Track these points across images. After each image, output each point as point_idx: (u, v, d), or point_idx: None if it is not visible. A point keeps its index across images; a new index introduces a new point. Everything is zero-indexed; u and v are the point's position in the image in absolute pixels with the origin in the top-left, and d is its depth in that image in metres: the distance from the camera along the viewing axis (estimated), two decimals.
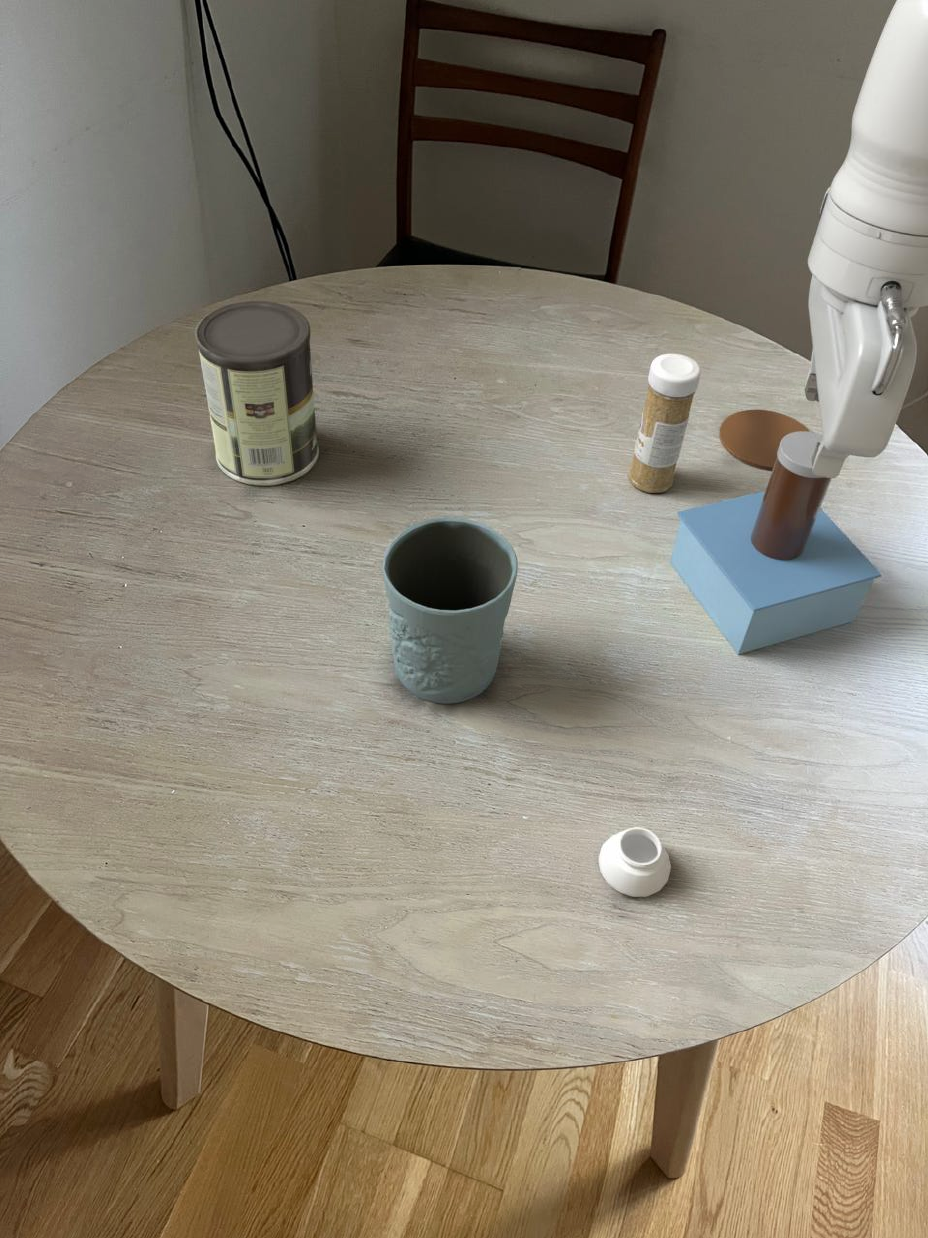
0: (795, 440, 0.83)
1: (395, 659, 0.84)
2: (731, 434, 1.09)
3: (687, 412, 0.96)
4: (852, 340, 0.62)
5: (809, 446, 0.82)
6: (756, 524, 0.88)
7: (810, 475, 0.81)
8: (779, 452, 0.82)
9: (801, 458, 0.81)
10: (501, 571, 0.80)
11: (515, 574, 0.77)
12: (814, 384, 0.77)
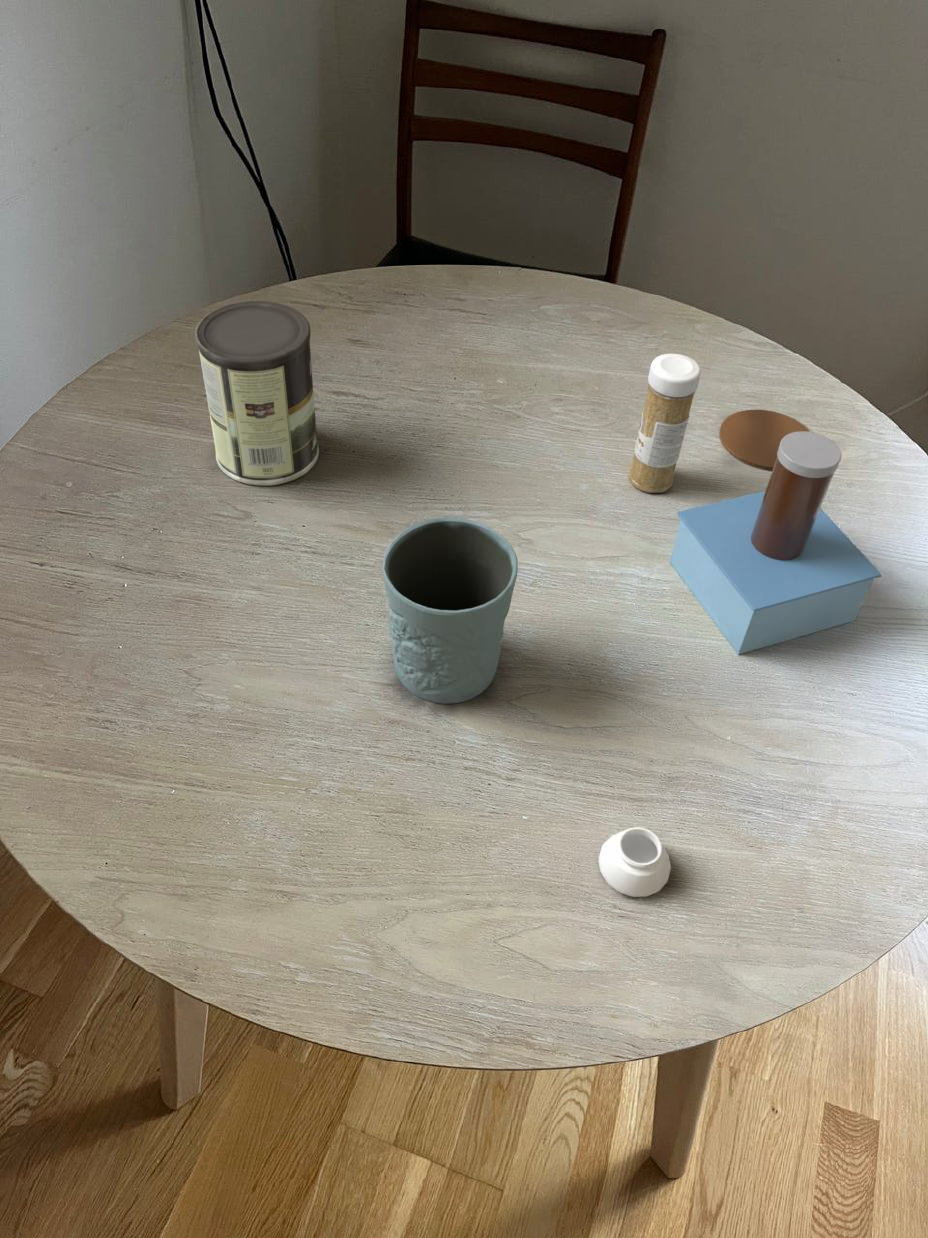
0: (795, 440, 0.83)
1: (395, 659, 0.84)
2: (731, 434, 1.09)
3: (687, 412, 0.96)
4: None
5: (809, 446, 0.82)
6: (756, 524, 0.88)
7: (810, 475, 0.81)
8: (779, 452, 0.82)
9: (801, 458, 0.81)
10: (501, 571, 0.80)
11: (515, 574, 0.77)
12: None
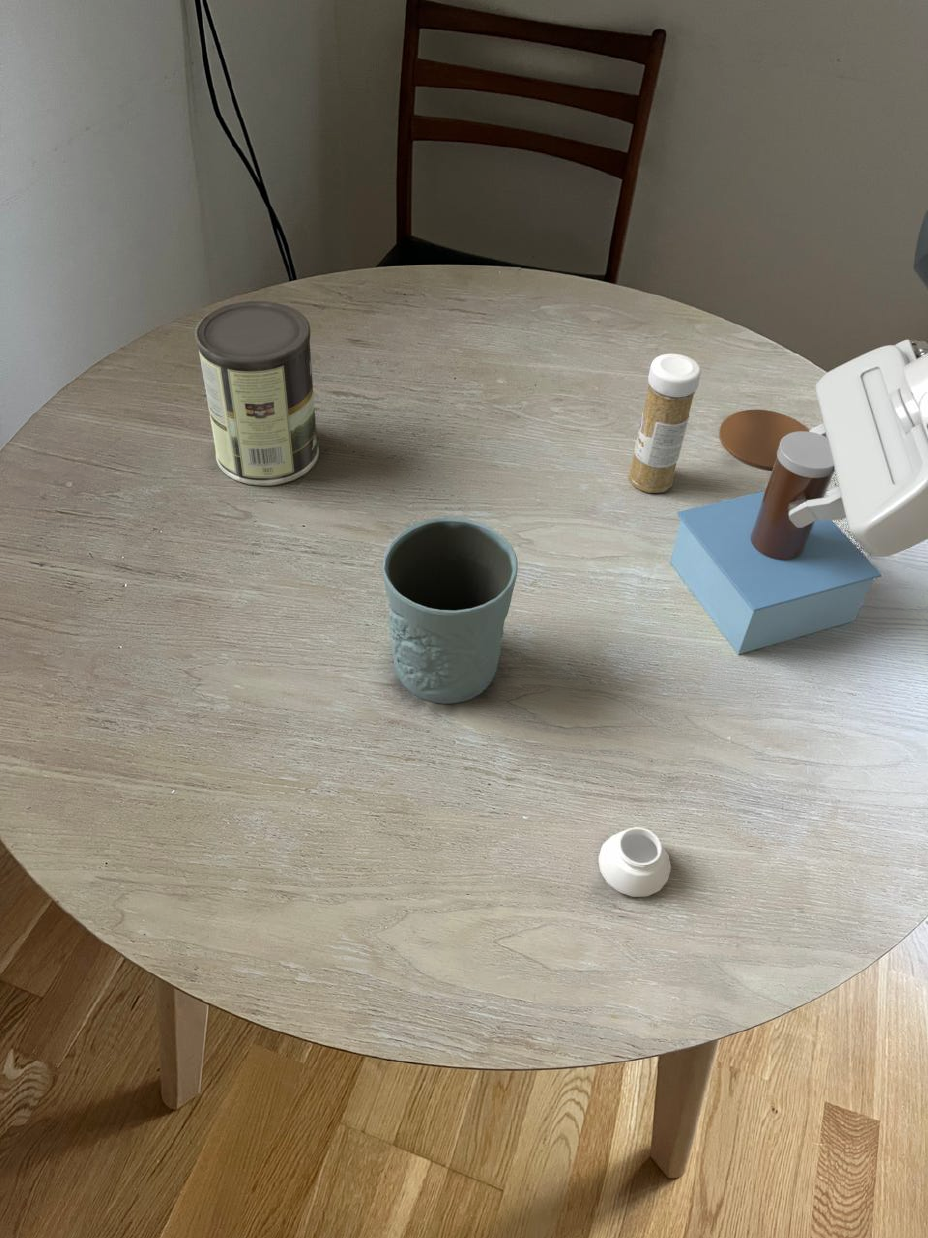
0: (795, 440, 0.83)
1: (395, 659, 0.84)
2: (731, 434, 1.09)
3: (687, 412, 0.96)
4: None
5: (809, 446, 0.82)
6: (756, 524, 0.88)
7: (809, 475, 0.81)
8: (779, 452, 0.82)
9: (801, 458, 0.81)
10: (501, 571, 0.80)
11: (515, 574, 0.77)
12: None
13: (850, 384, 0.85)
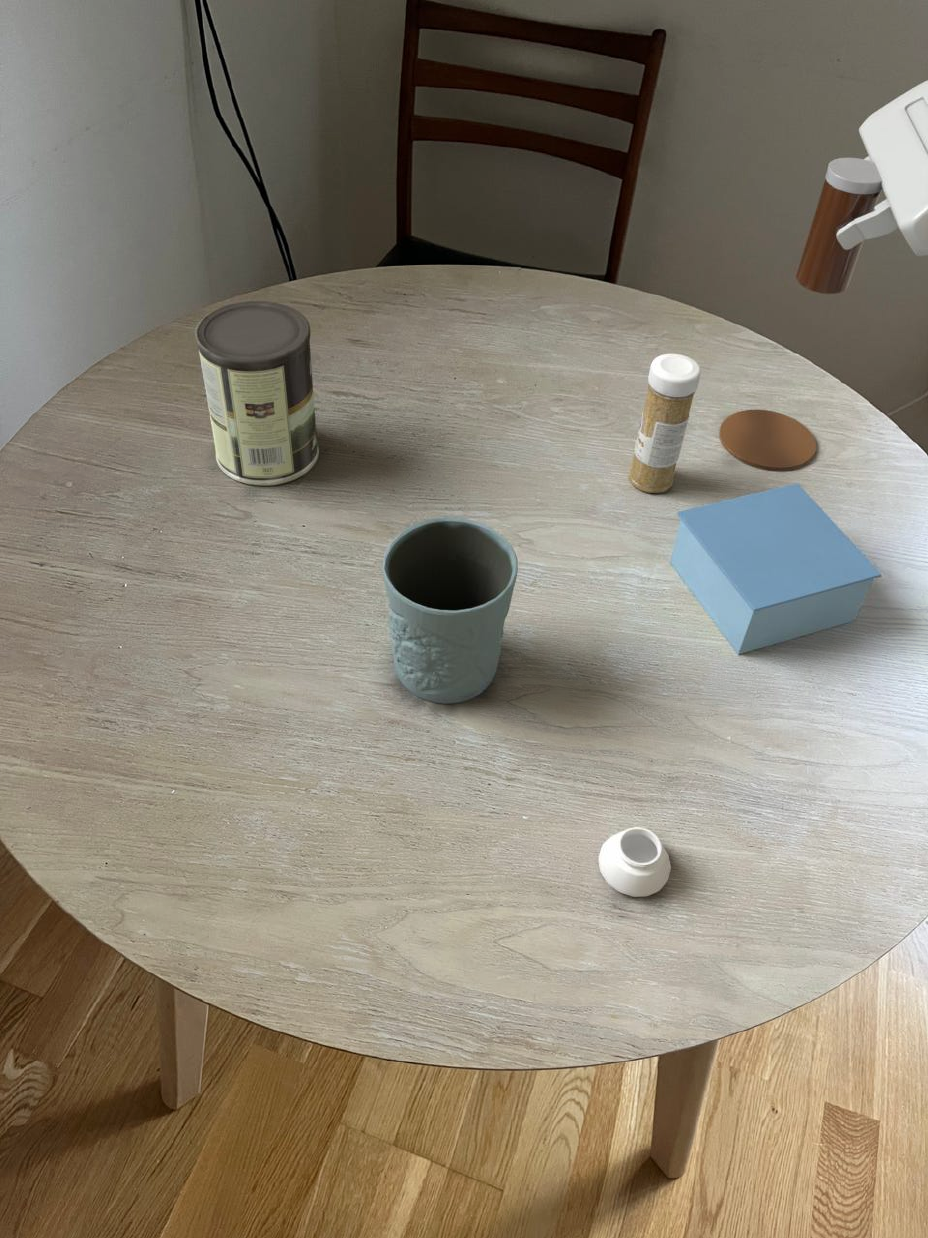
0: (842, 163, 0.86)
1: (395, 659, 0.84)
2: (731, 434, 1.09)
3: (687, 412, 0.96)
4: None
5: (857, 167, 0.86)
6: (802, 259, 0.92)
7: (857, 191, 0.85)
8: (827, 173, 0.86)
9: (849, 175, 0.85)
10: (501, 571, 0.80)
11: (515, 574, 0.77)
12: None
13: (894, 116, 0.89)
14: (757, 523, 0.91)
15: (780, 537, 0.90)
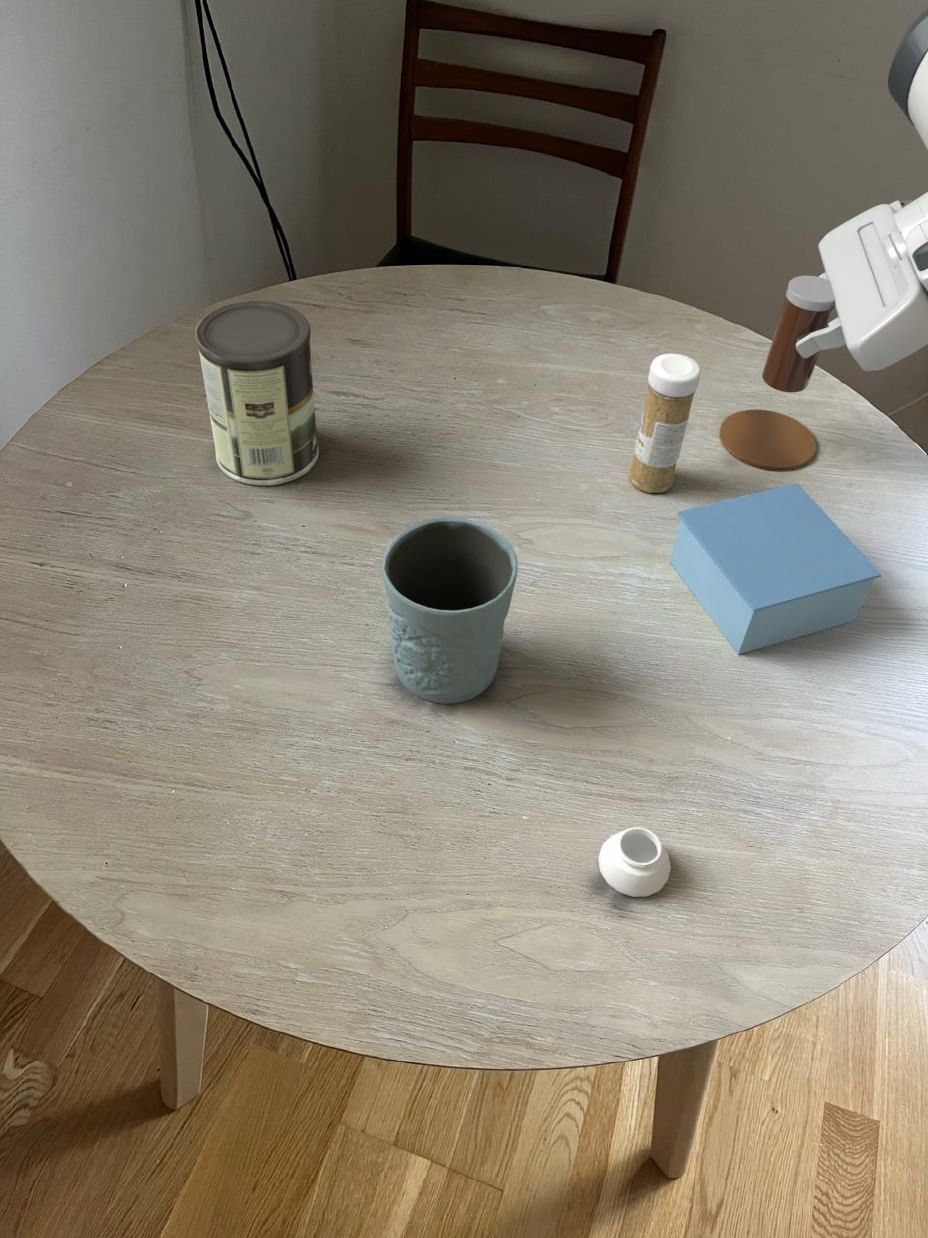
0: (801, 282, 0.97)
1: (395, 659, 0.84)
2: (731, 434, 1.09)
3: (687, 412, 0.96)
4: None
5: (813, 286, 0.97)
6: (767, 361, 1.03)
7: (813, 309, 0.96)
8: (787, 291, 0.97)
9: (806, 294, 0.96)
10: (501, 571, 0.80)
11: (515, 574, 0.77)
12: None
13: (848, 237, 1.00)
14: (757, 523, 0.91)
15: (780, 537, 0.90)
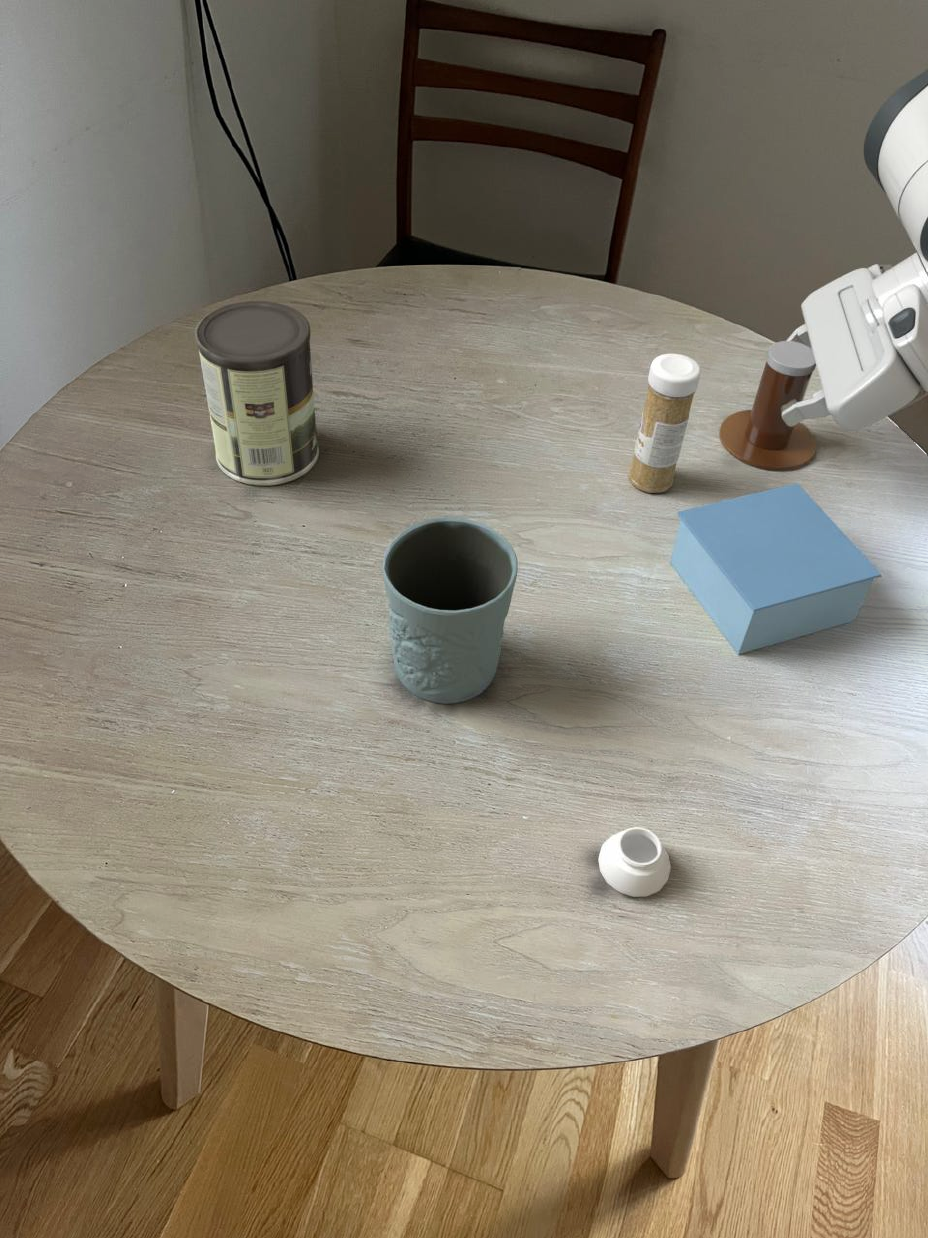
0: (781, 347, 1.03)
1: (395, 659, 0.84)
2: (731, 434, 1.09)
3: (687, 412, 0.96)
4: None
5: (792, 351, 1.02)
6: (749, 420, 1.08)
7: (792, 374, 1.01)
8: (768, 356, 1.02)
9: (785, 360, 1.01)
10: (501, 571, 0.80)
11: (515, 574, 0.77)
12: None
13: (830, 300, 1.04)
14: (757, 523, 0.91)
15: (780, 537, 0.90)
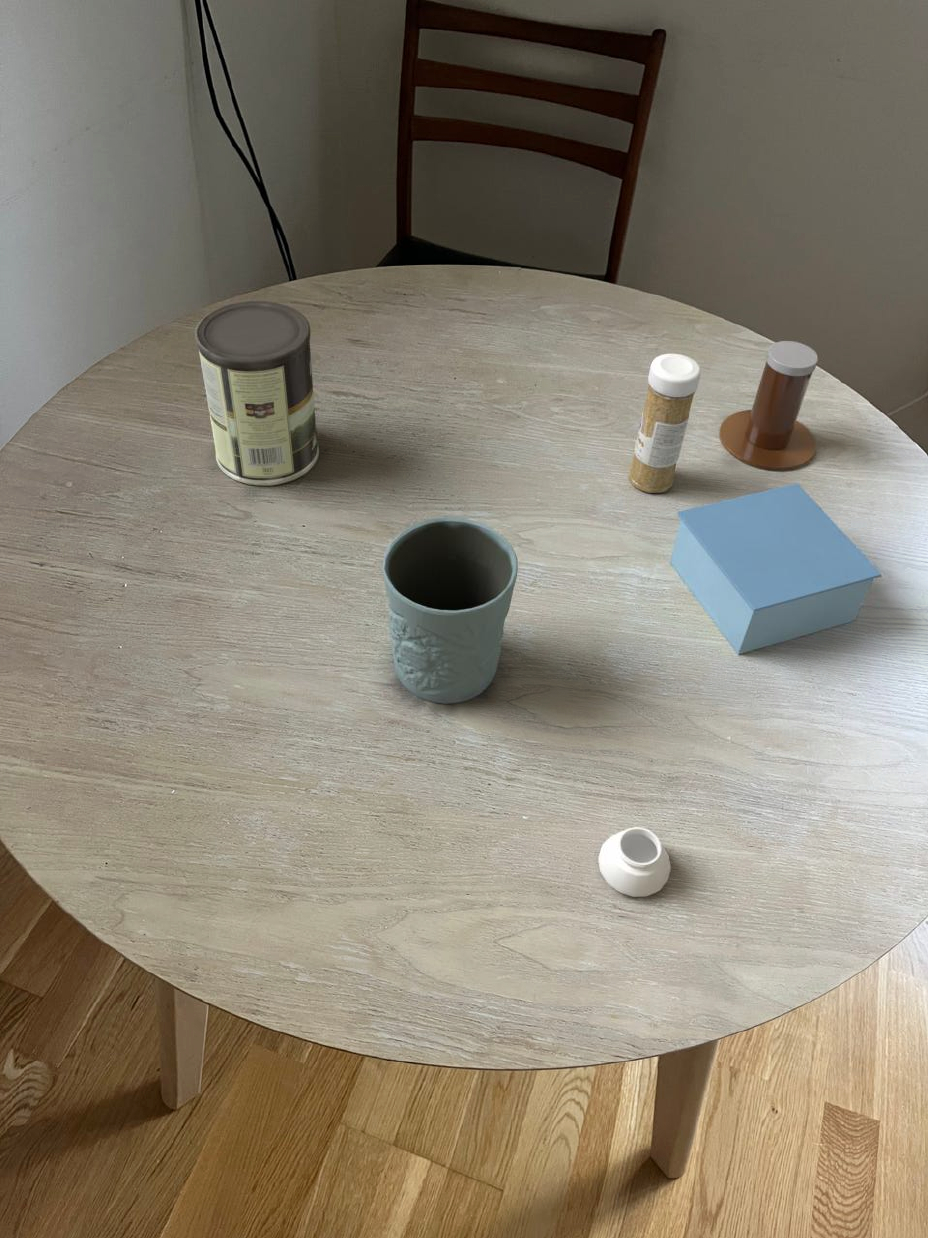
0: (781, 347, 1.03)
1: (395, 659, 0.84)
2: (731, 434, 1.09)
3: (687, 412, 0.96)
4: None
5: (792, 351, 1.02)
6: (749, 420, 1.08)
7: (792, 374, 1.01)
8: (768, 356, 1.02)
9: (785, 360, 1.01)
10: (501, 571, 0.80)
11: (515, 574, 0.77)
12: None
13: None
14: (757, 523, 0.91)
15: (780, 537, 0.90)
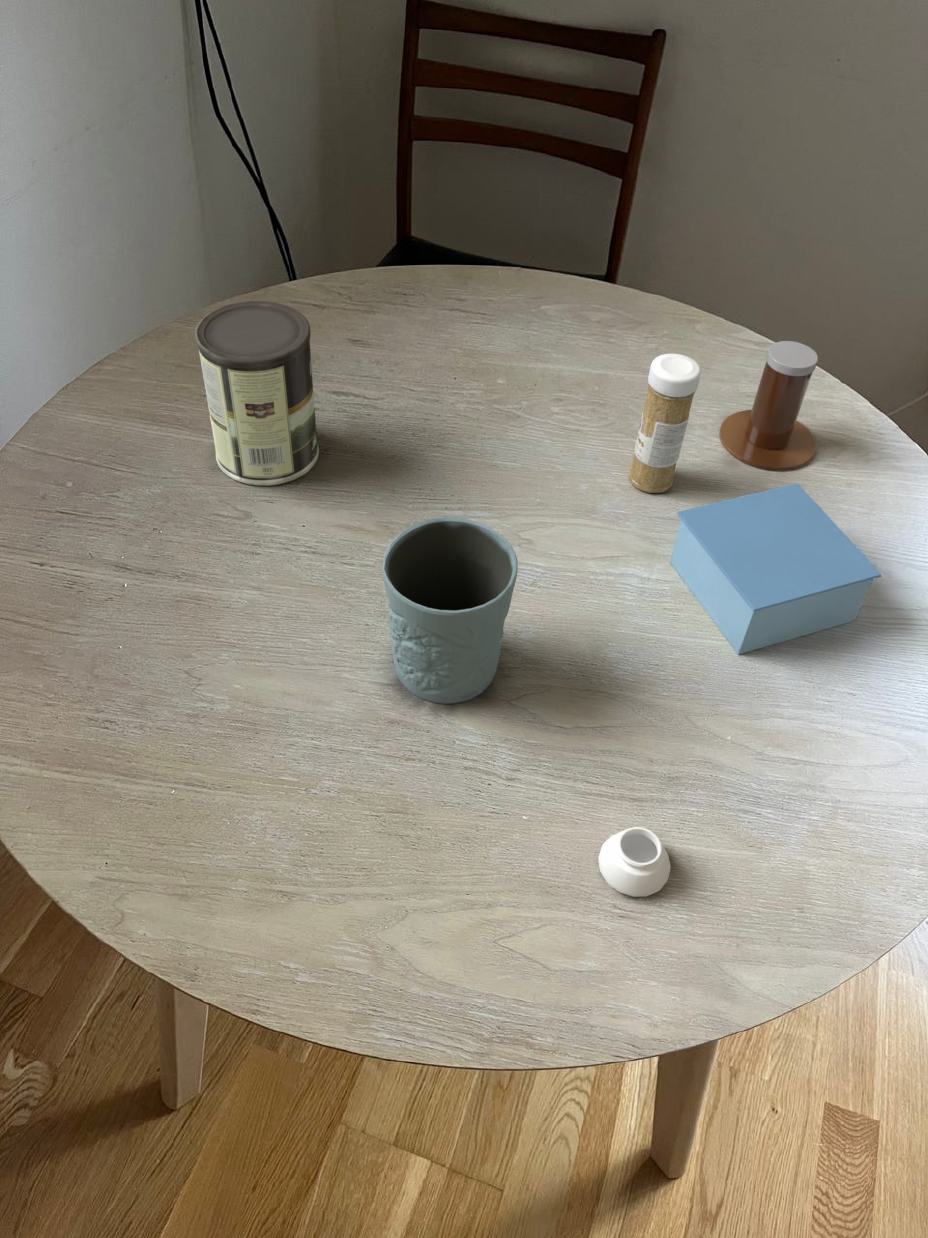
0: (781, 347, 1.03)
1: (395, 659, 0.84)
2: (731, 434, 1.09)
3: (687, 412, 0.96)
4: None
5: (792, 351, 1.02)
6: (749, 420, 1.08)
7: (792, 374, 1.01)
8: (768, 356, 1.02)
9: (785, 360, 1.01)
10: (501, 571, 0.80)
11: (515, 574, 0.77)
12: None
13: None
14: (757, 523, 0.91)
15: (780, 537, 0.90)
